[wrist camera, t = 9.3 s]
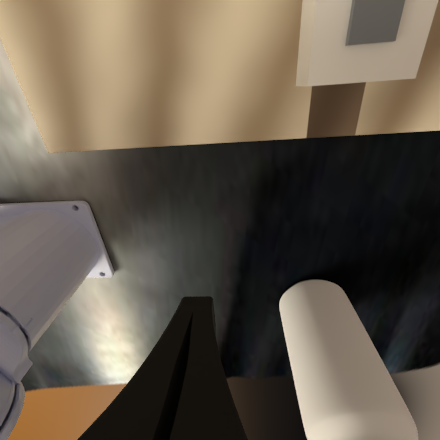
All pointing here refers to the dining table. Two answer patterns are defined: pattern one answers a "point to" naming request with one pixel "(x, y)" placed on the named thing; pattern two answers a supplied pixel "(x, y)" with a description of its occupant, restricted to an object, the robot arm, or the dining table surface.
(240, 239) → the dining table surface
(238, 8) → the board
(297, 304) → the can
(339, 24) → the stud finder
